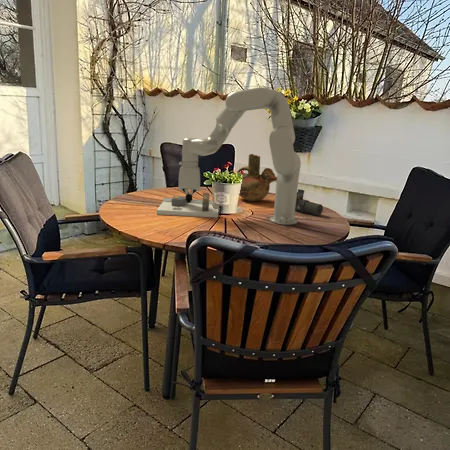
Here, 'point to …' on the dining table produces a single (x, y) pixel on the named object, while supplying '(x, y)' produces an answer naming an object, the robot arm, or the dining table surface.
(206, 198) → the tan cylinder
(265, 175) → the ceramic vessel
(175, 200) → the block
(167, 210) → the wall panel
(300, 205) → the laser sight
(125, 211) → the dining table surface
